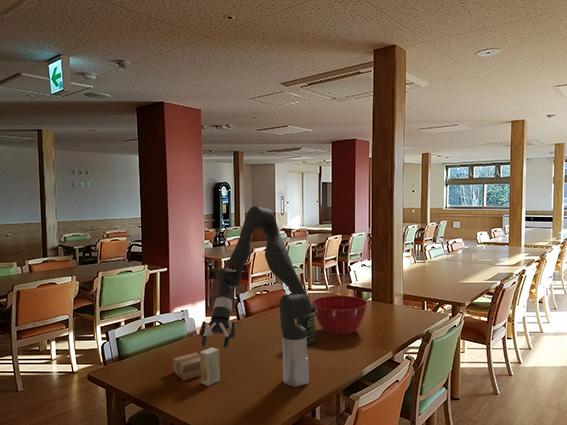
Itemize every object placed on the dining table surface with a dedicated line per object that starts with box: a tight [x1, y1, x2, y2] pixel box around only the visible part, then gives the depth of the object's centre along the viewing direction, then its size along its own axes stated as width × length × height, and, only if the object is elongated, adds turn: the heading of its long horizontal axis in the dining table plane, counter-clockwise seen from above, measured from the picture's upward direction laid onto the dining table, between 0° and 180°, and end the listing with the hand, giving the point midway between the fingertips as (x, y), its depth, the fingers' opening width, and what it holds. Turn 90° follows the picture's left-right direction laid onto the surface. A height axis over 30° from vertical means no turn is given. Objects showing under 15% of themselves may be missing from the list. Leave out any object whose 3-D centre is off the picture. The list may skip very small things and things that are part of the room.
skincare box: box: [199, 346, 221, 387], centre depth 161 cm, size 6×4×12 cm
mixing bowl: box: [311, 295, 368, 336], centre depth 219 cm, size 28×28×16 cm
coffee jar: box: [296, 303, 317, 346], centre depth 202 cm, size 10×8×19 cm
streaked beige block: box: [172, 352, 201, 381], centre depth 170 cm, size 10×10×6 cm
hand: (214, 346), depth 167 cm, fingers open, 8 cm apart
